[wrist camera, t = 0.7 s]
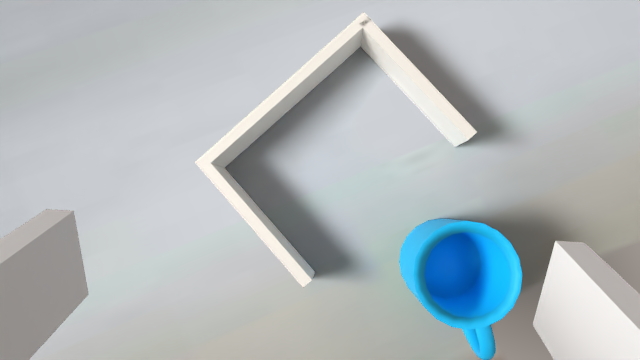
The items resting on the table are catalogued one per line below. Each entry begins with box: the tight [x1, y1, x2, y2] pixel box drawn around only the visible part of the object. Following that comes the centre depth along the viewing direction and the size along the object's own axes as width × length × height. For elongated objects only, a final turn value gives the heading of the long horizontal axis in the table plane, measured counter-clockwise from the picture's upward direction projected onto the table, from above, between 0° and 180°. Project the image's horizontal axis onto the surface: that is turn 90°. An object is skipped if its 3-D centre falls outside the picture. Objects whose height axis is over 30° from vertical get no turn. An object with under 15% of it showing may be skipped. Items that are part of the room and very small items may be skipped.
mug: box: [399, 218, 522, 360], centre depth 37 cm, size 12×8×8 cm
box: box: [195, 12, 477, 287], centre depth 40 cm, size 14×20×4 cm
